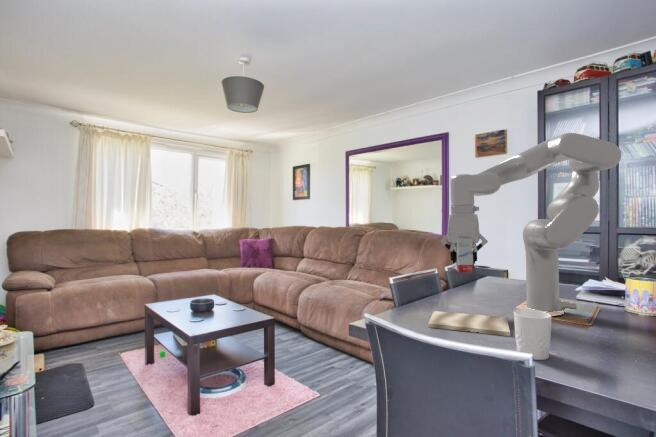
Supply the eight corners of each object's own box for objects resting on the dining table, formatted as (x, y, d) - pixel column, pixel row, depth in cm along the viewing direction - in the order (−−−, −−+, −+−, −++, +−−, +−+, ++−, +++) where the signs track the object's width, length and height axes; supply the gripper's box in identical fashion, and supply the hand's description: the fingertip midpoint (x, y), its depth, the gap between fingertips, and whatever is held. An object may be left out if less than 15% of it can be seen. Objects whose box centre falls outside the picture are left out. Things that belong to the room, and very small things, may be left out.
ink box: (473, 273, 114) (473, 237, 114) (458, 273, 115) (457, 238, 115) (469, 269, 122) (468, 236, 122) (455, 269, 123) (454, 236, 123)
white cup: (508, 348, 87) (507, 309, 87) (539, 347, 87) (539, 308, 87) (524, 361, 80) (524, 318, 79) (559, 361, 79) (559, 318, 79)
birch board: (506, 321, 108) (506, 317, 108) (510, 336, 96) (510, 331, 96) (433, 314, 117) (433, 310, 117) (428, 327, 104) (428, 323, 104)
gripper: (490, 209, 118) (491, 262, 118) (438, 211, 125) (439, 260, 126) (490, 209, 111) (491, 265, 111) (435, 211, 119) (436, 263, 119)
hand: (463, 262), depth 118 cm, fingers closed on ink box, 5 cm apart
